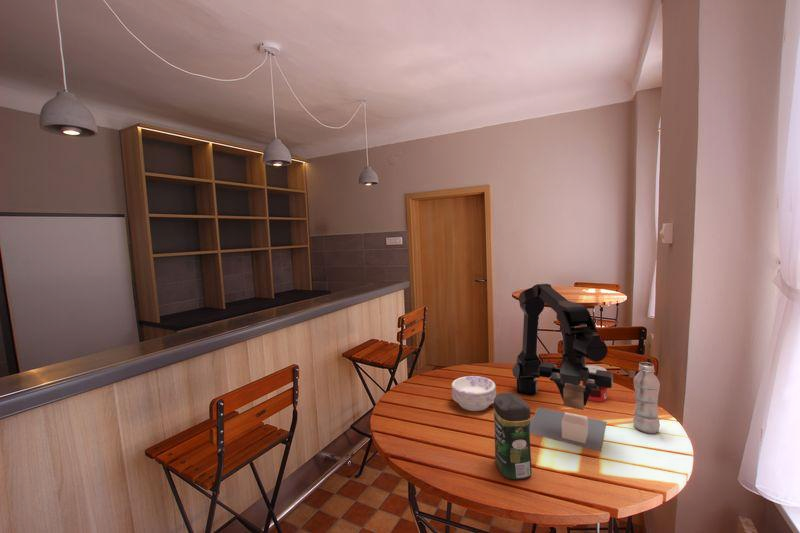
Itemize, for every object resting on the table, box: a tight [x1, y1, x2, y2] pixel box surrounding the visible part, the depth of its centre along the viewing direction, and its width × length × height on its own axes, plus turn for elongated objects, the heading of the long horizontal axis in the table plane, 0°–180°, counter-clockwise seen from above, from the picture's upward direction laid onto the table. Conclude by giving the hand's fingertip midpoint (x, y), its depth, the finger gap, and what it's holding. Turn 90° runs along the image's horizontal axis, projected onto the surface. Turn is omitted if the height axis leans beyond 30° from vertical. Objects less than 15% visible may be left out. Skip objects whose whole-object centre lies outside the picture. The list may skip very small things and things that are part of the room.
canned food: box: [581, 364, 608, 403], centre depth 126 cm, size 8×8×11 cm
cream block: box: [562, 411, 589, 443], centre depth 102 cm, size 6×6×5 cm
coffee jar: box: [493, 392, 533, 480], centre depth 89 cm, size 10×8×19 cm
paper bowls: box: [451, 375, 497, 412], centre depth 125 cm, size 15×15×8 cm
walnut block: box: [562, 383, 585, 411], centre depth 102 cm, size 5×5×5 cm
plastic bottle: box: [632, 362, 661, 435], centre depth 104 cm, size 6×7×20 cm
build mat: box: [530, 407, 608, 453], centre depth 108 cm, size 20×18×1 cm
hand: (574, 403), depth 102 cm, fingers closed on walnut block, 5 cm apart
